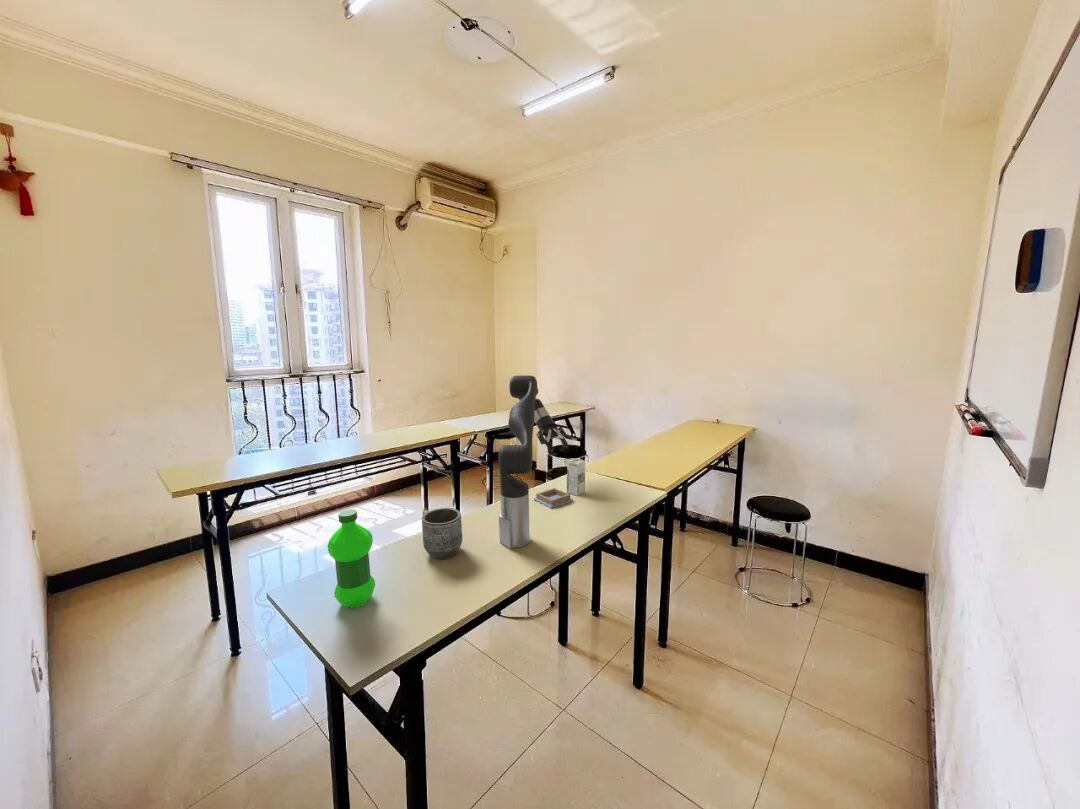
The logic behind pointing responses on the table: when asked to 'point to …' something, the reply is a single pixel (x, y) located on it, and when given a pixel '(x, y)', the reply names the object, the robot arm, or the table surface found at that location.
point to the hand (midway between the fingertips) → (559, 448)
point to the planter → (442, 532)
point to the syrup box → (576, 477)
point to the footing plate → (553, 497)
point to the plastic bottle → (352, 561)
